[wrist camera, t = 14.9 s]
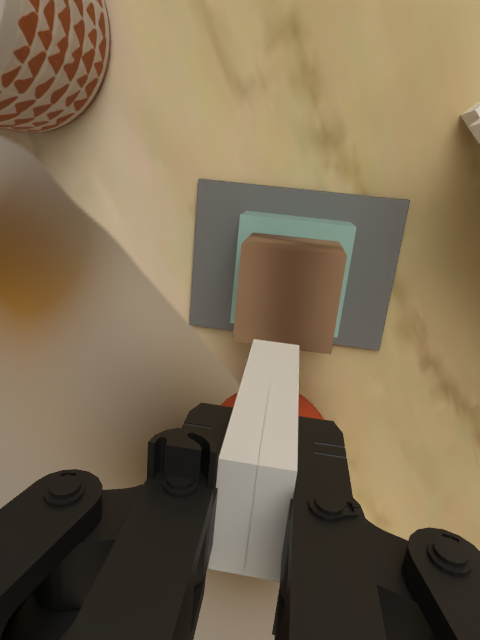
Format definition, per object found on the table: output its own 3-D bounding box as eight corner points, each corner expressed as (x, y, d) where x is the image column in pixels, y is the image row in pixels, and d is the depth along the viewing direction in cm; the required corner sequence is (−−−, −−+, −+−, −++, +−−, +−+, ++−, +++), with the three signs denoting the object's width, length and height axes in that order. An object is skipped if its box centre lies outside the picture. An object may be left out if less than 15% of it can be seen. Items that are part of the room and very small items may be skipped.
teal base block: (237, 308, 37) (230, 323, 34) (246, 210, 35) (240, 214, 31) (333, 321, 37) (337, 337, 33) (350, 221, 34) (356, 226, 30)
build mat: (190, 323, 39) (189, 324, 38) (199, 178, 35) (198, 178, 35) (378, 348, 37) (379, 350, 37) (408, 200, 33) (410, 200, 33)
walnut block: (244, 313, 33) (232, 341, 28) (252, 232, 31) (241, 243, 26) (326, 323, 33) (330, 354, 27) (339, 241, 31) (347, 255, 25)
